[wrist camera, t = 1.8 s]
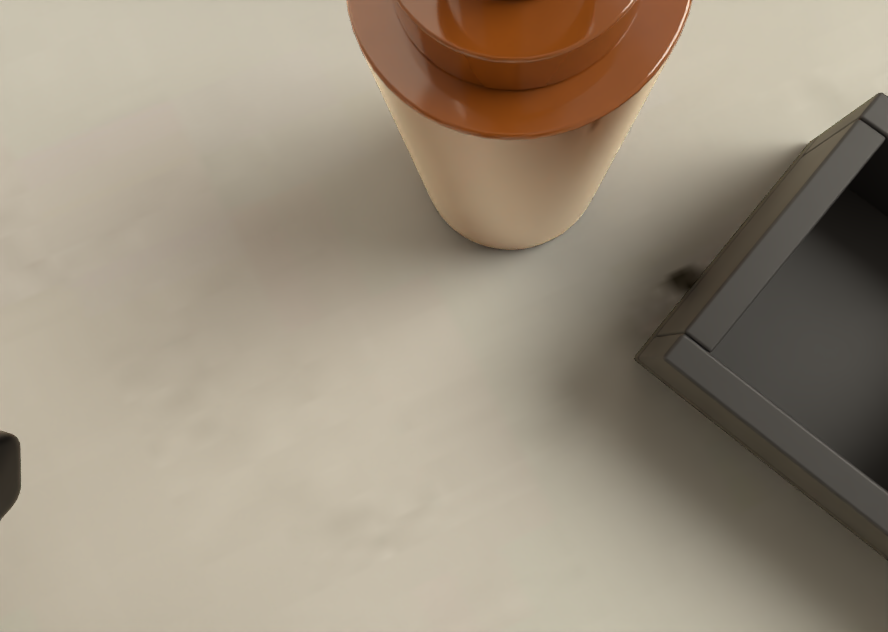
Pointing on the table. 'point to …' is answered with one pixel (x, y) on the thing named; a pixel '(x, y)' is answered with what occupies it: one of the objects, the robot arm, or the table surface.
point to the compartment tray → (801, 327)
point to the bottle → (515, 100)
